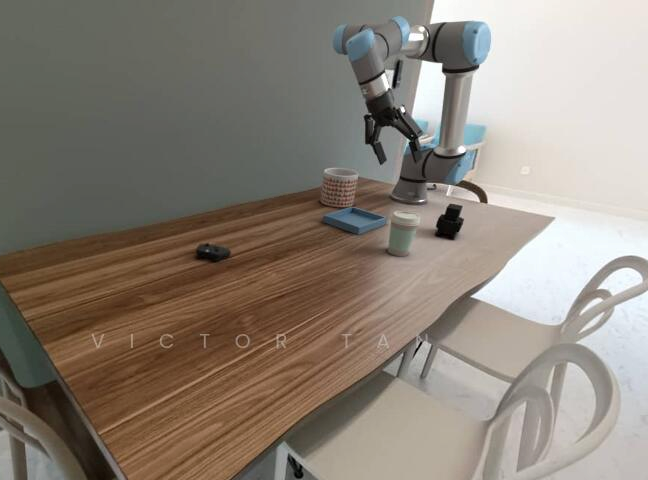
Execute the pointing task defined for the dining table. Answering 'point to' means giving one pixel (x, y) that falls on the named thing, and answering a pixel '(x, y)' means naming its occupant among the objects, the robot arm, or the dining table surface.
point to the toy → (450, 221)
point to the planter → (339, 187)
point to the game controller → (212, 251)
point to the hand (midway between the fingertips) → (400, 161)
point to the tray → (355, 220)
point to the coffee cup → (402, 232)
